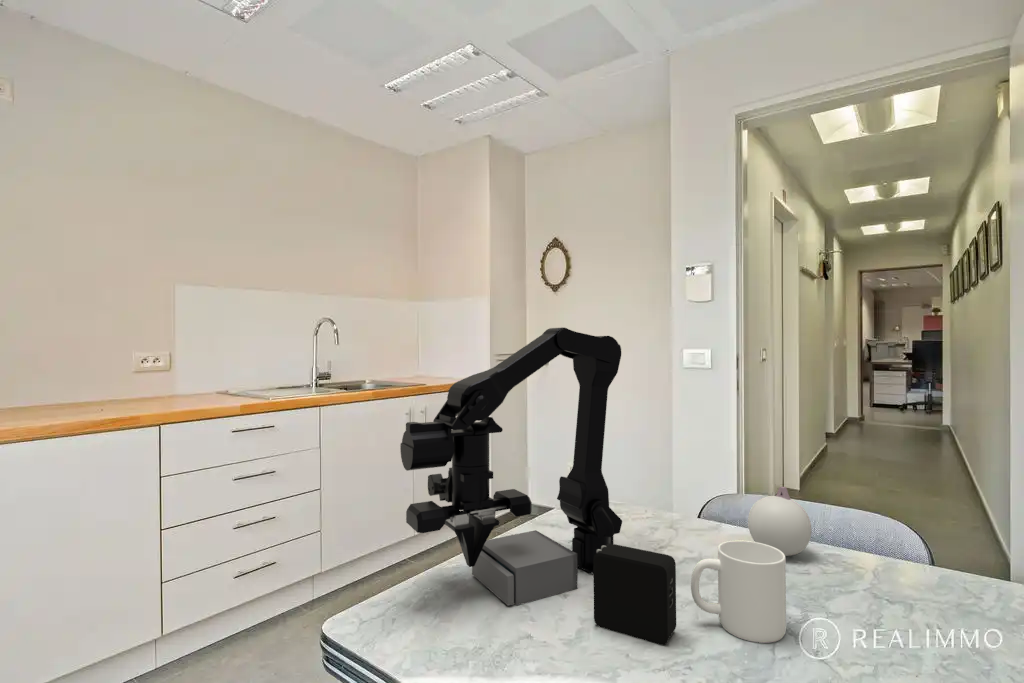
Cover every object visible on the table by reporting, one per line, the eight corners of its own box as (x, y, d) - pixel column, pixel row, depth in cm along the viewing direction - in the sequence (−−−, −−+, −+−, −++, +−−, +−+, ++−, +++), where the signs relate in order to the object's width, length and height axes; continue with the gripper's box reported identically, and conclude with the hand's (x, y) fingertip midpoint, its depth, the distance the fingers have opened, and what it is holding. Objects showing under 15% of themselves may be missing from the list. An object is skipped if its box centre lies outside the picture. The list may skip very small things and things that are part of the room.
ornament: (813, 550, 98) (812, 484, 98) (809, 569, 90) (808, 498, 90) (753, 539, 104) (752, 477, 104) (744, 557, 95) (743, 489, 95)
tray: (530, 560, 93) (529, 536, 94) (571, 588, 83) (571, 561, 83) (472, 574, 88) (471, 548, 88) (507, 605, 77) (507, 576, 77)
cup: (797, 646, 67) (796, 565, 67) (698, 640, 68) (697, 561, 68) (772, 613, 75) (771, 541, 75) (684, 609, 77) (684, 538, 77)
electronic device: (667, 647, 67) (666, 567, 67) (593, 625, 72) (592, 551, 72) (676, 632, 70) (675, 556, 71) (605, 612, 76) (604, 542, 76)
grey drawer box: (536, 560, 94) (535, 530, 94) (577, 588, 83) (577, 553, 83) (479, 574, 89) (479, 541, 89) (516, 605, 78) (516, 568, 78)
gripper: (500, 448, 93) (500, 538, 93) (395, 459, 84) (395, 559, 84) (533, 460, 83) (533, 561, 83) (418, 474, 74) (418, 587, 74)
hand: (470, 565), depth 81 cm, fingers closed
